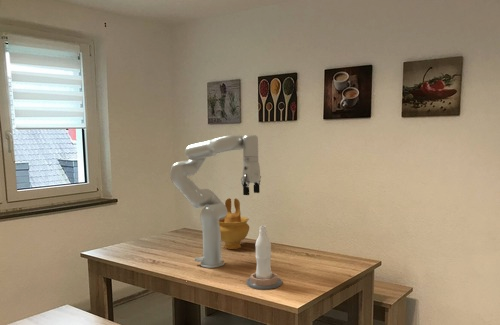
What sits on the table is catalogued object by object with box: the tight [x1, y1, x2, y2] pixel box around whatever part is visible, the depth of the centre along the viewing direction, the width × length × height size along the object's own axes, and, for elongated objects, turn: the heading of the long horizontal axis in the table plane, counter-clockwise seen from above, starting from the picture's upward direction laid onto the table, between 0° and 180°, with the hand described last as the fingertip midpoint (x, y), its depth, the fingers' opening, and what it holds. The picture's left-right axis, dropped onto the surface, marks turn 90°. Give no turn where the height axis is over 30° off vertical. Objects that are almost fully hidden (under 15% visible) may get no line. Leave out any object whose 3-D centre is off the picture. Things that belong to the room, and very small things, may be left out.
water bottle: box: [254, 225, 272, 279], centre depth 181 cm, size 7×7×25 cm
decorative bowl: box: [218, 197, 250, 250], centre depth 246 cm, size 21×21×30 cm
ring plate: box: [246, 271, 283, 291], centre depth 181 cm, size 16×16×4 cm
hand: (251, 193), depth 200 cm, fingers open, 9 cm apart
